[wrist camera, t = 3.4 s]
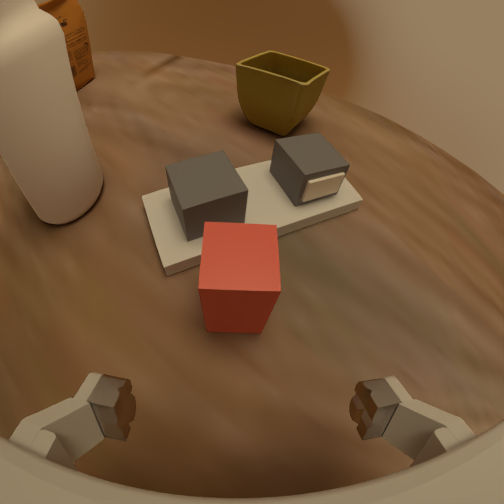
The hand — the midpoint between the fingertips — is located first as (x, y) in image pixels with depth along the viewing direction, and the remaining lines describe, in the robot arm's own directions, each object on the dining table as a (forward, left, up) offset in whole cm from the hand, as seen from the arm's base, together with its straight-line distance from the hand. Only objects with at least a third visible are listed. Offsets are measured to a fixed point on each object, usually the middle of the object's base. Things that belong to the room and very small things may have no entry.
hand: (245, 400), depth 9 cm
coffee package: (-12, +60, -11) cm, 62 cm away
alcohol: (-9, +25, -11) cm, 28 cm away
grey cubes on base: (+9, +15, -10) cm, 20 cm away
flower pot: (+18, +28, -11) cm, 35 cm away
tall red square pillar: (+3, +7, -10) cm, 13 cm away
